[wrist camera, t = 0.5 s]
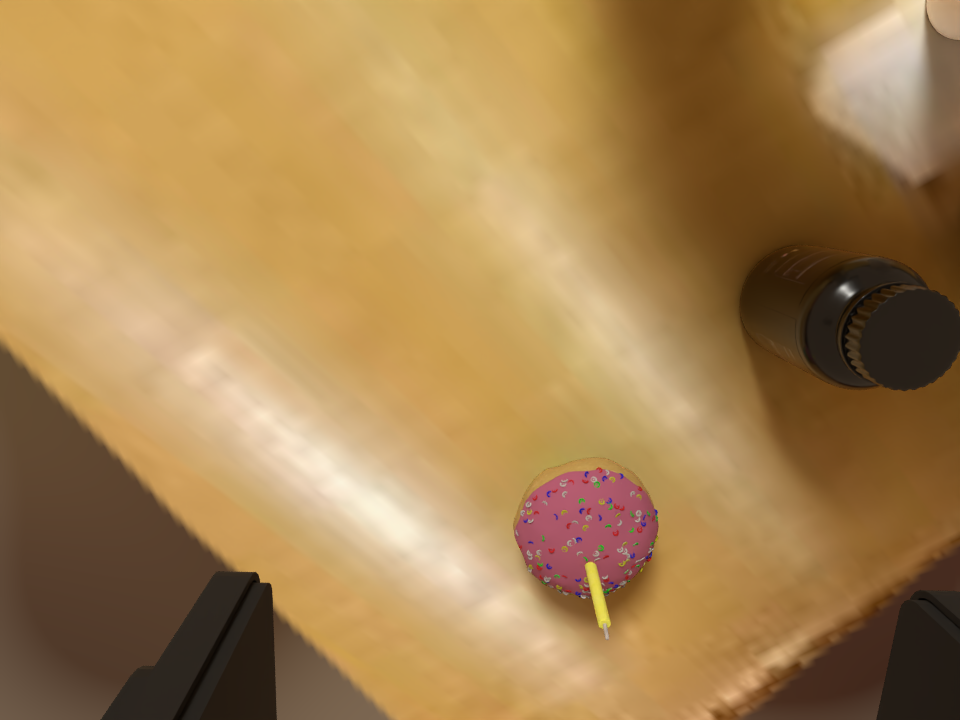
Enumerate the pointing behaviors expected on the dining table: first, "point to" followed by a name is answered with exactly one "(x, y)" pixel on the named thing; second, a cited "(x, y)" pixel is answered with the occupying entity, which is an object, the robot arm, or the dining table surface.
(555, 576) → the cupcake
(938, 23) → the soft serve ice cream cone
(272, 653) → the robot arm
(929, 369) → the supplement bottle
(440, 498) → the dining table surface
